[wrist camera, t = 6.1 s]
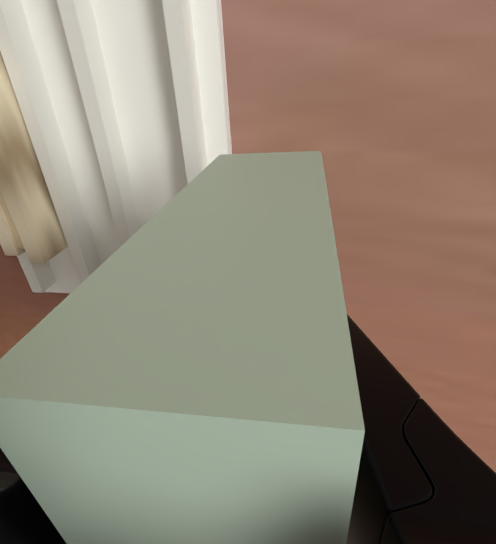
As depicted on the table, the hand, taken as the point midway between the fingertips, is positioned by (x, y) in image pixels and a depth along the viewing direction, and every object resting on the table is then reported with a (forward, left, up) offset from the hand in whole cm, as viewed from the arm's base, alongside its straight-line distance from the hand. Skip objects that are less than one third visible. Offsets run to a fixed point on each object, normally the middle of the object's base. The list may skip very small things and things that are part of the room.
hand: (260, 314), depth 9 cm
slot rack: (+2, +11, -13) cm, 17 cm away
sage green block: (0, 0, -4) cm, 4 cm away
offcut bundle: (+2, +15, -12) cm, 19 cm away
